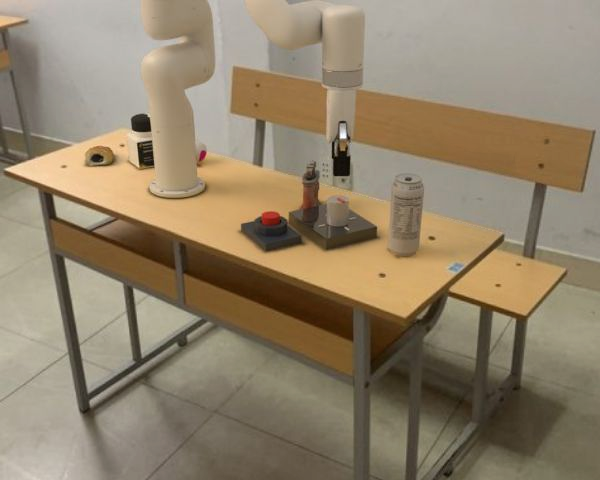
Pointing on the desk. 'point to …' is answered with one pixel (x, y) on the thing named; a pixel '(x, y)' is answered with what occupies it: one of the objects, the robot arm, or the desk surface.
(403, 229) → the energy drink can
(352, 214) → the grey dial base plate
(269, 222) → the power button
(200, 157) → the stress ball
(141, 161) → the medicine bottle
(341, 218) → the knob
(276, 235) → the control block
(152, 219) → the desk surface
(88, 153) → the pastry
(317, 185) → the lighter
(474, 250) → the desk surface
